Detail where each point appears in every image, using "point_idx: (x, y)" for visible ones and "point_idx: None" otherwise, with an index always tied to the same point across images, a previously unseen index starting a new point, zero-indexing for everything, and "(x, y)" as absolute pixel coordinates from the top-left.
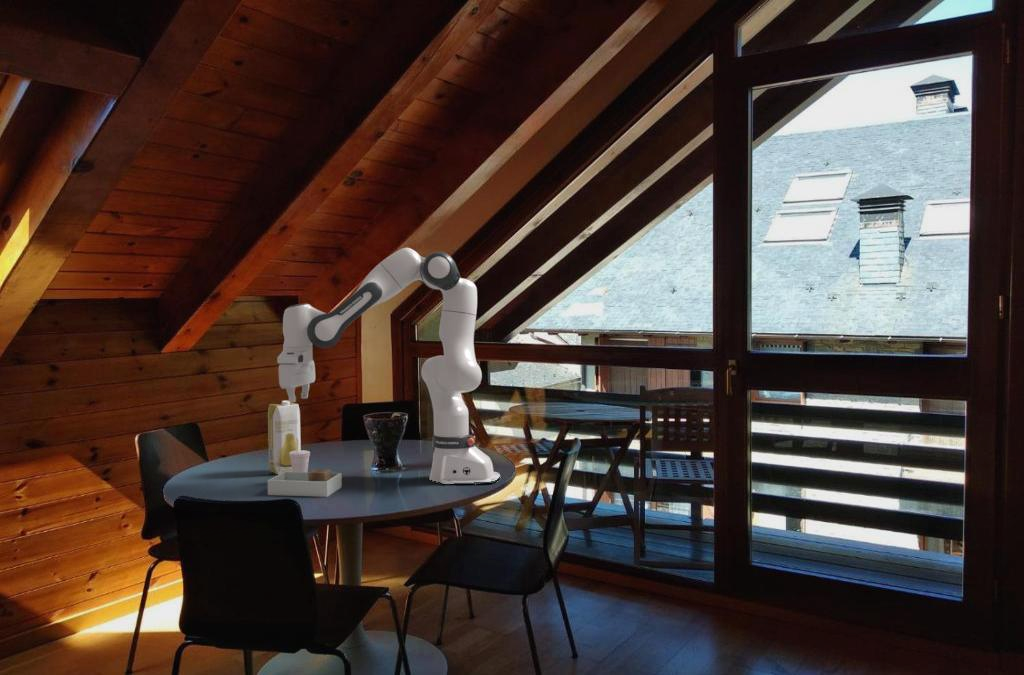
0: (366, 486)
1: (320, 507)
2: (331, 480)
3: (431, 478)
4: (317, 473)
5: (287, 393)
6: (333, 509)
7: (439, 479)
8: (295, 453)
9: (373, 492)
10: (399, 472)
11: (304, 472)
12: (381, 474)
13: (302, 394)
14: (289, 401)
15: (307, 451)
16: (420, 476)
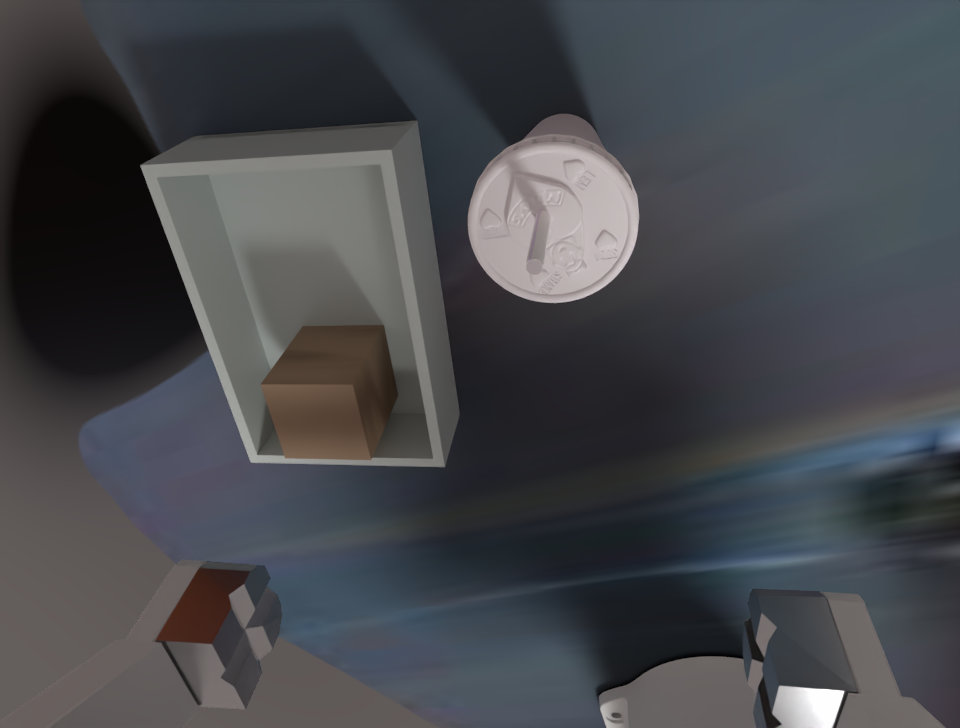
0: (541, 487)
1: (170, 425)
2: (308, 459)
3: (666, 671)
4: (275, 425)
5: (38, 696)
6: (171, 471)
7: (628, 697)
8: (488, 221)
9: (445, 530)
10: (858, 548)
11: (404, 287)
12: (811, 490)
13: (766, 676)
14: (182, 569)
15: (602, 271)
16: None
